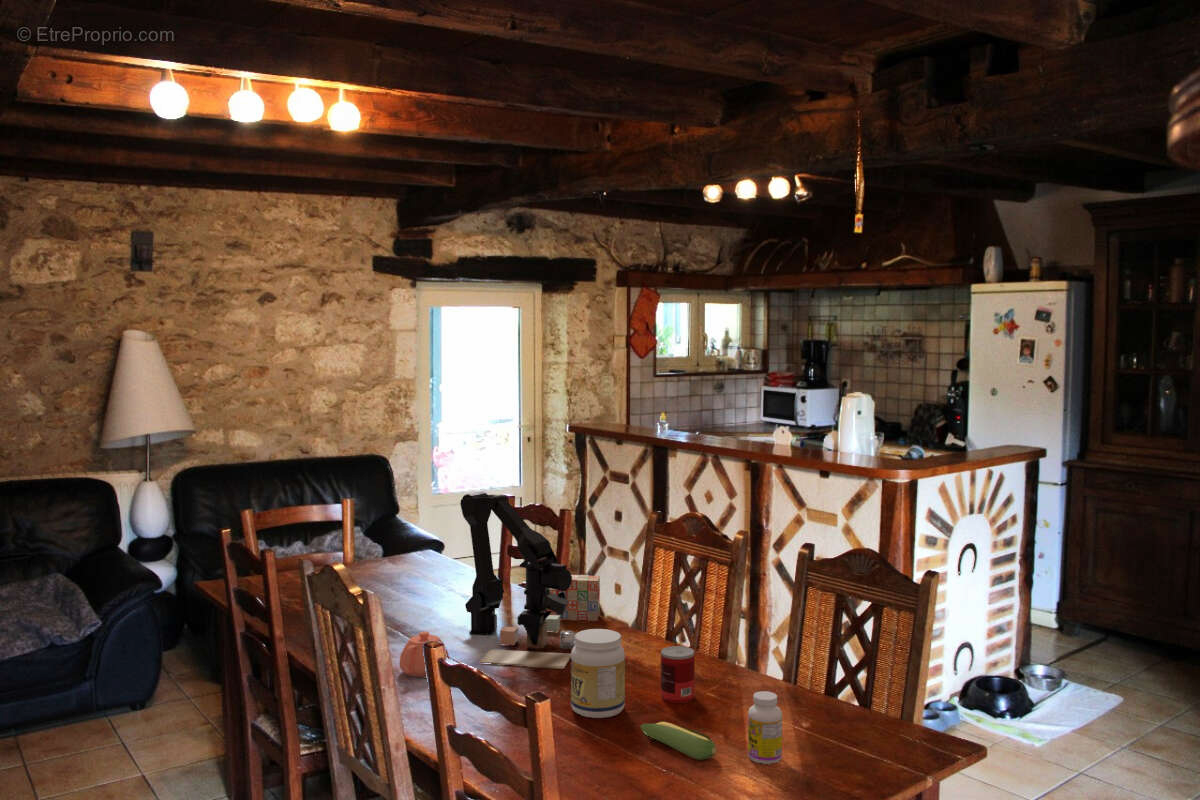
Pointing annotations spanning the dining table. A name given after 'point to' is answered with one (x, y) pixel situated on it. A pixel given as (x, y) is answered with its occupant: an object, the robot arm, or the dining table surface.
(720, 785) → the dining table surface
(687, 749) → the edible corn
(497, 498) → the robot arm
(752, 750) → the supplement bottle
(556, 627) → the sage green block
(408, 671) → the terracotta lidded pot
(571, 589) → the stack of blocks
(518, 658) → the oak board
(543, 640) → the walnut block
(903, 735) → the dining table surface
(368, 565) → the dining table surface
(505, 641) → the terracotta cube
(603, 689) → the supplement tub
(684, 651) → the canned food
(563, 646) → the metal tin
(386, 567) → the dining table surface
